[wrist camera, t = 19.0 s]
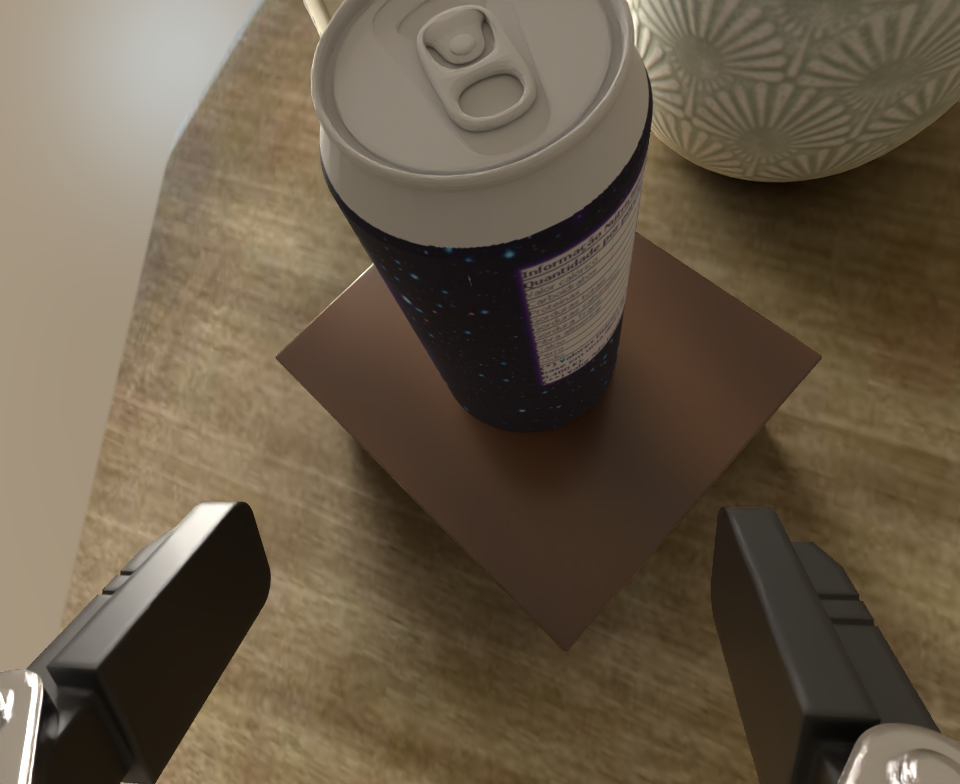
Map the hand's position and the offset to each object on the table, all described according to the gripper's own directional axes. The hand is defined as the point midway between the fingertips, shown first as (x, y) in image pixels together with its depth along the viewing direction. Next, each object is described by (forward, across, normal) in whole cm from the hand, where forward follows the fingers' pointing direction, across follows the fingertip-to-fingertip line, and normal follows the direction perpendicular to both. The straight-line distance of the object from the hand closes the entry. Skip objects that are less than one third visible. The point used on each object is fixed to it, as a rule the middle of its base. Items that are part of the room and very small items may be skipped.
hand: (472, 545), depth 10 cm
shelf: (+16, 0, +6) cm, 17 cm away
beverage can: (+11, 0, +1) cm, 11 cm away
